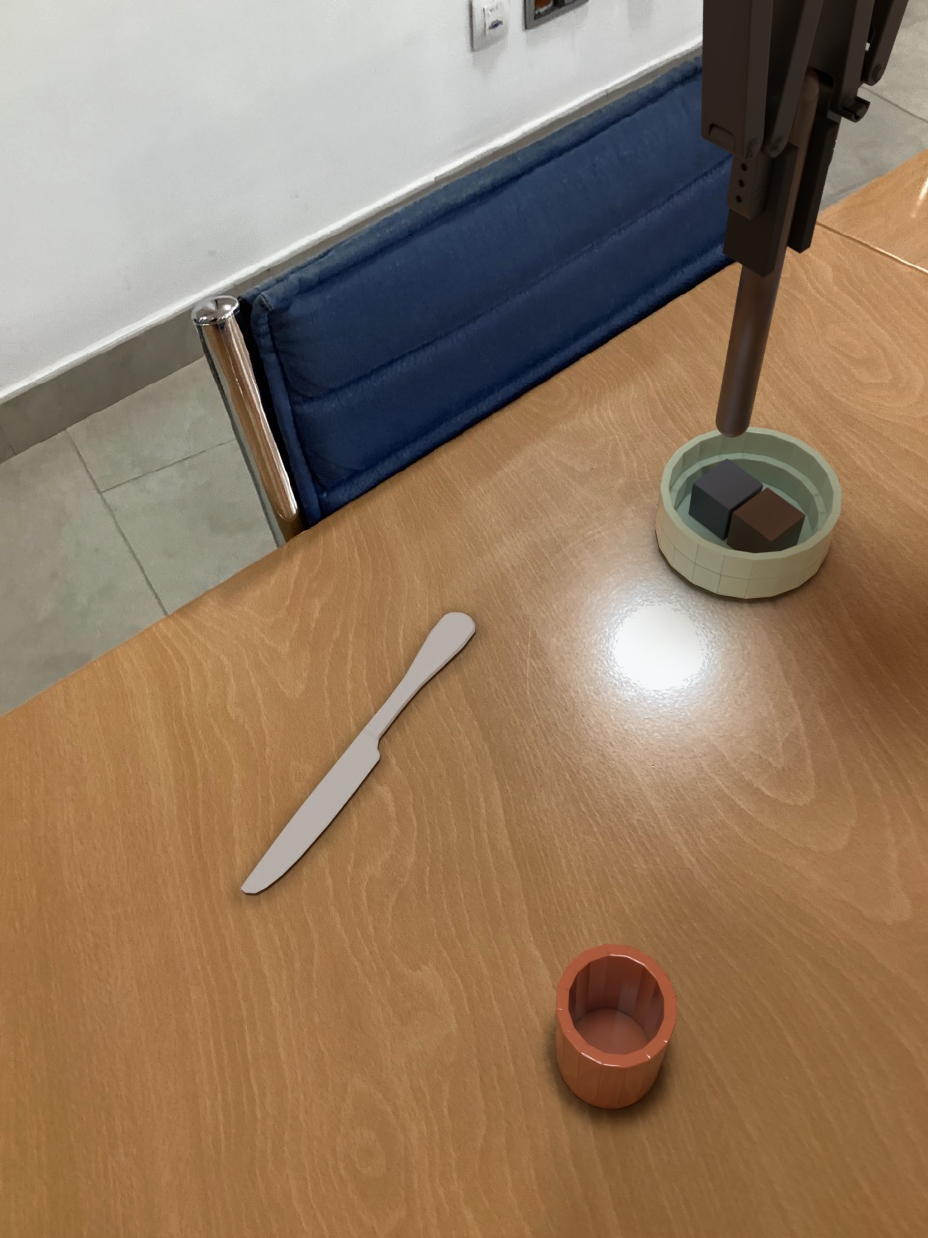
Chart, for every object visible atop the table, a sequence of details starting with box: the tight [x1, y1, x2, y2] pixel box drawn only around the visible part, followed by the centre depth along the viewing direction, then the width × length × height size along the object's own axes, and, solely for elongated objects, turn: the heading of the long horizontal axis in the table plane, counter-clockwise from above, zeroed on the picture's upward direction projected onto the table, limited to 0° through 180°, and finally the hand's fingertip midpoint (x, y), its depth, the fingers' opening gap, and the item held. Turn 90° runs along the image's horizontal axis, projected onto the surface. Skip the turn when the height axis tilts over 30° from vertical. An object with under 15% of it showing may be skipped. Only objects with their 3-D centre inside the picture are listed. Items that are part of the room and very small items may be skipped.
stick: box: [714, 66, 820, 438], centre depth 54 cm, size 2×2×22 cm
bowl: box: [654, 425, 843, 600], centre depth 75 cm, size 12×12×5 cm
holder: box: [555, 943, 678, 1110], centre depth 54 cm, size 6×6×10 cm
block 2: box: [726, 487, 806, 553], centre depth 75 cm, size 4×4×4 cm
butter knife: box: [240, 611, 476, 894], centre depth 69 cm, size 1×24×3 cm
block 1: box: [688, 459, 763, 540], centre depth 76 cm, size 4×4×4 cm
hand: (766, 249), depth 53 cm, fingers closed on stick, 2 cm apart
